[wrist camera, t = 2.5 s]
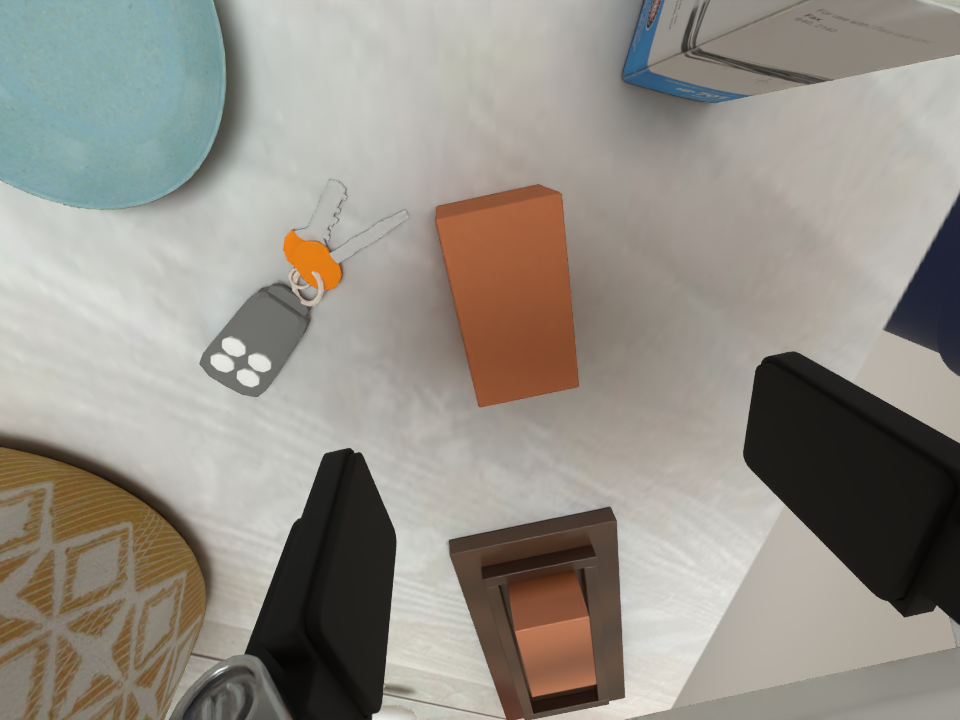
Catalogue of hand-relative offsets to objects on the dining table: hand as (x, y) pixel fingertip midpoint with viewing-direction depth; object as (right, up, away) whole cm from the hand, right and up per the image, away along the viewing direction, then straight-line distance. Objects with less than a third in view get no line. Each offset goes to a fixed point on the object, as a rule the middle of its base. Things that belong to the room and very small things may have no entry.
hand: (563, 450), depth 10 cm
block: (-1, +6, +12) cm, 13 cm away
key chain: (-11, +6, +11) cm, 17 cm away
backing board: (+4, -21, +26) cm, 34 cm away
